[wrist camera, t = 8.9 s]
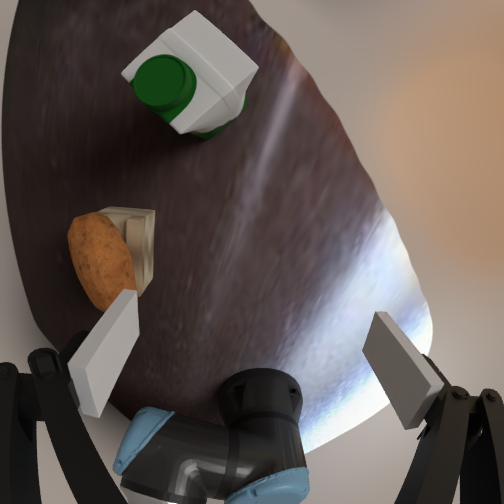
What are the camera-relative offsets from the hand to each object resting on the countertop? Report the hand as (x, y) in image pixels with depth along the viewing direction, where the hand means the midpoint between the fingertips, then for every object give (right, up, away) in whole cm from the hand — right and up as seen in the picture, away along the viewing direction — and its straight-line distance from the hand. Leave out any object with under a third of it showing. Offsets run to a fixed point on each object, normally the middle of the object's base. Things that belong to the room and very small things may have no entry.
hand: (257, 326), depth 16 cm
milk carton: (-6, +23, +21) cm, 32 cm away
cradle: (-18, +5, +26) cm, 32 cm away
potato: (-17, +3, +20) cm, 27 cm away
